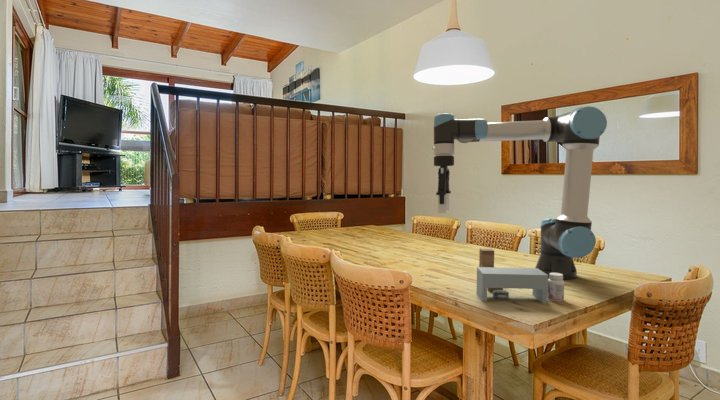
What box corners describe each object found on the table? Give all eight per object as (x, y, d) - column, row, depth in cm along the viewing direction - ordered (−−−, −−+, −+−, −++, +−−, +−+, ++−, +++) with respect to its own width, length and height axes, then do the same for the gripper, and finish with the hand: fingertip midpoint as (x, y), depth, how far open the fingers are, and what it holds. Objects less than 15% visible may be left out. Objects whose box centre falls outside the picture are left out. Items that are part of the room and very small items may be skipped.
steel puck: (506, 295, 130) (506, 290, 130) (510, 300, 125) (510, 294, 125) (491, 295, 130) (491, 289, 130) (494, 300, 125) (494, 294, 125)
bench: (537, 294, 130) (537, 268, 130) (547, 303, 121) (548, 275, 121) (476, 293, 132) (476, 267, 132) (482, 301, 123) (482, 273, 123)
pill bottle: (544, 297, 127) (545, 272, 127) (558, 297, 128) (558, 272, 127) (552, 302, 123) (553, 276, 122) (566, 301, 123) (567, 275, 122)
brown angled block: (478, 278, 151) (479, 248, 150) (491, 279, 150) (491, 248, 150) (488, 291, 134) (489, 257, 134) (502, 291, 134) (503, 257, 133)
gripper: (437, 157, 159) (437, 208, 160) (429, 154, 135) (429, 214, 136) (456, 156, 156) (456, 208, 158) (451, 153, 133) (451, 214, 134)
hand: (443, 211), depth 147 cm, fingers open, 13 cm apart
